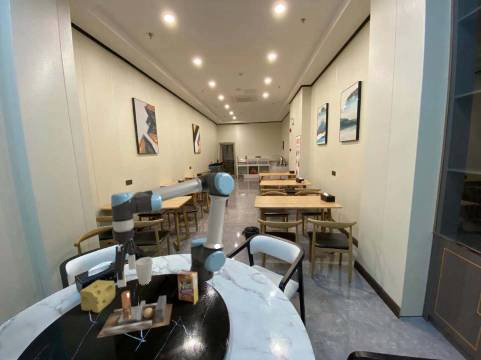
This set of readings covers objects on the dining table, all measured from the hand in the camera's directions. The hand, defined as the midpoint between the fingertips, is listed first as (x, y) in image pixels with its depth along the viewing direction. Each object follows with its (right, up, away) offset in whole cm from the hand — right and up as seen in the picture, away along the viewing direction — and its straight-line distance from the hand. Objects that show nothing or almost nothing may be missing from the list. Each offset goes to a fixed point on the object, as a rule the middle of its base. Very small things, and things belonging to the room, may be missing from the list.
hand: (127, 277), depth 86 cm
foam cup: (-8, -19, +32) cm, 38 cm away
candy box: (+23, -20, +14) cm, 33 cm away
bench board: (+4, -21, +1) cm, 21 cm away
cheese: (-22, -21, +13) cm, 33 cm away
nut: (+8, -19, +2) cm, 20 cm away
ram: (+2, -19, +1) cm, 19 cm away
